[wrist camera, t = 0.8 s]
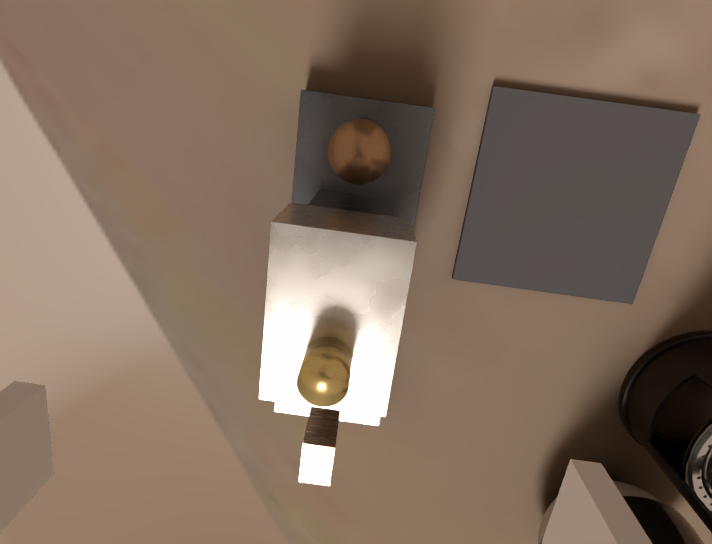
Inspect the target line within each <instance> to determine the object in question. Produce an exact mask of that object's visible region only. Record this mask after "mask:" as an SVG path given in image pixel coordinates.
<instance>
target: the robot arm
mask: <svg viewBox="0 0 712 544" xmlns="http://www.w3.org/2000/svg"><path fill="white" fill-rule="evenodd" d="M53 475H54V465H53V457H52V447H51V437H50V428H49V419H48V409H47V399H46V390H45V385H38V384H32V383H24V382H17V381H14V382H13V383H11V384H10V385H9V386H7V387H6V388H5V389H3V390H2V391H0V533H1V532H2V531H3V530H4V529H5V527H7V525H8V524H9V523H10V522H11V521H12V520H13V519H14V518H15V517H16V515H17V514H18V513H19V512H20V511H21V510H22V509H23V508H24V507H25V506H26V504H27V503H28V502H29V501H30V500H31V499H32V498H33V497H34V496H35V495H36V493H37V492H38V491H39V490H40V489H41V488H42V487H43V486H44V485H45V484H46V482H47V481H48V480H49V479H50V478H51V477H52V476H53ZM542 544H652V542H651V541H650V539H649V538H648V536H647V534H646V533H645V531H644V530H643V528H642V527H641V525H640V523H639V522H638V520H637V519H636V517H635V516H634V514H633V512H632V511H631V509H630V508H629V506H628V505H627V503H626V501H625V500H624V498H623V497H622V495H621V494H620V492H619V490H618V489H617V487H616V486H615V484H614V483H613V481H612V479H611V478H610V476H609V475H608V473H607V472H606V470H605V468H604V467H603V465H602V464H601V463H596V462H589V461H582V460H575V459H570V462H569V464H568V467H567V470H566V473H565V476H564V479H563V482H562V485H561V488H560V490H559V493H558V496H557V499H556V502H555V505H554V508H553V511H552V514H551V516H550V519H549V522H548V525H547V528H546V531H545V534H544V537H543V540H542Z"/></svg>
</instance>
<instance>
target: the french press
mask: <svg viewBox="0 0 712 544" xmlns="http://www.w3.org/2000/svg"><path fill="white" fill-rule="evenodd" d="M695 376H697V377H698V378H700V379H701V380H702V381H703V382H704V383H706V384H707V385H708V386H709V387H710V388H712V331H700V332H692V333H687V334H684V335H680V336H677V337H674V338H671V339H669V340H667V341H665V342H663V343H661V344H659V345H657V346H656V347H654V348H653V349H651V350H650V351H648V352H647V353H646V354H645V355H644V356H643V357H642V358H641V359H640V360H638V361H637V362H636V364H635V365H634V366H633V368H632V369H631V370H630V371H629V373H628V374H627V377H626V379H625V381H624V383H623V385H622V388H621V392H620V396H619V411H620V415H621V420H622V422H623V424H624V426H625V428H626V430H627V431H628V433H629V434H630V435H631V436H632V437H633V438H634V439H635V441H636V442H638V443H639V444H640V445H642V446H643V447H645V449H646V450H647V451H648V452H649V454H650V455H651V456H652V458H653V459H654V460H655V461H656V463H657V464H658V465H659V466H660V468H661V469H662V470H663V472H664V473H665V474H666V475H667V477H668V478H669V479H670V480H671V482H672V483H673V484H674V486H675V487H676V488H677V489H678V491H679V492H680V493H681V494H682V496H683V497H684V498H685V500H686V501H687V502H688V503H689V505H690V506H691V507H692V508H693V510H694V511H695V512H696V513H697V515H698V516H699V517H700V519H701V520H702V521H703V522H704V524H705V525H706V526H707V527H708V529H709V530H710V531H711V533H712V418H711V419H709V420H708V421H707V422H706V423H705V424H704V425H703V426H702V427H701V428H700V429H699V431H698V432H697V433H696V434H695V435H694V437H693V439H692V440H691V441H676V440H672V439H668V438H665V437H663V436H661V435H658V434H657V433H656V432H654V431H653V426H654V422H655V419H656V416H657V414H658V413H659V411H660V409H661V407H662V405H663V404H664V403H665V402H666V400H667V399H668V398H669V397H670V395H671V394H672V393H673V392H675V391H676V390H677V389H678V388H679V387H680V386H681V385H683V384H684V383H686V382H687V381H689V380H690V379H692V378H694V377H695Z"/></svg>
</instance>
